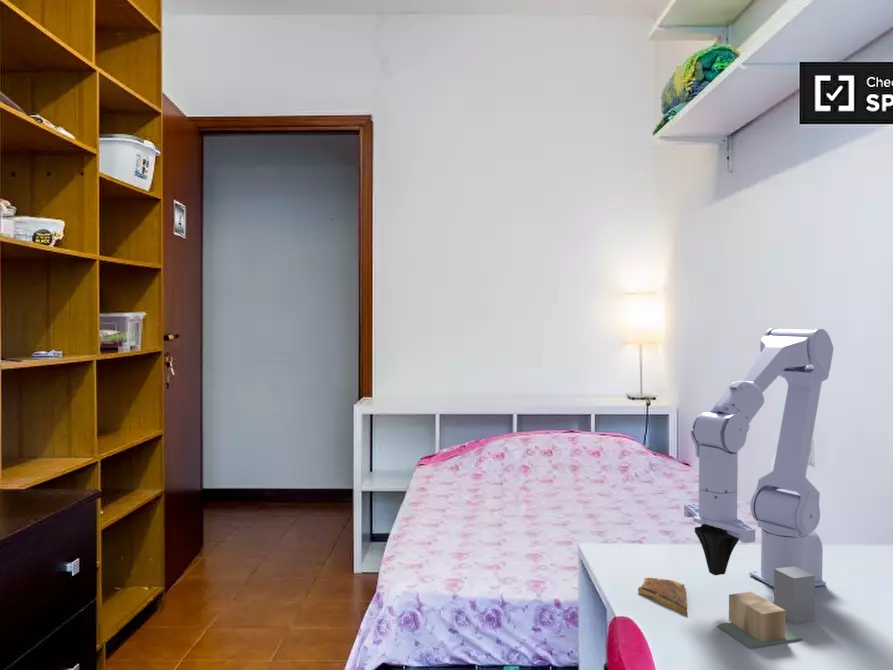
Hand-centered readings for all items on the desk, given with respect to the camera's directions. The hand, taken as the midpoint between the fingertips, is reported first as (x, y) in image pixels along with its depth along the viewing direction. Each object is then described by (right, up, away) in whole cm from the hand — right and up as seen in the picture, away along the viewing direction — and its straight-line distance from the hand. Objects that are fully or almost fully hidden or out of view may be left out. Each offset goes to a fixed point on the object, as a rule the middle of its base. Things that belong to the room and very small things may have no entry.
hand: (717, 573), depth 111 cm
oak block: (+1, -3, -5) cm, 6 cm away
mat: (+3, -6, -9) cm, 11 cm away
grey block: (+10, -6, -4) cm, 12 cm away
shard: (-6, -6, +4) cm, 9 cm away
